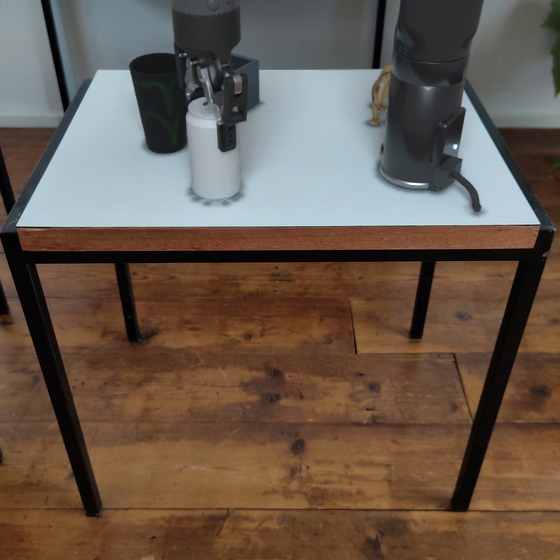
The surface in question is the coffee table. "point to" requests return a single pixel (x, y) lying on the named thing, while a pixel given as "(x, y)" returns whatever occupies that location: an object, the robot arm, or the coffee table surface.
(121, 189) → the coffee table surface
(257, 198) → the coffee table surface
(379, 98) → the lion figurine
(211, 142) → the beverage can
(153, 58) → the cup
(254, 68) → the open box
